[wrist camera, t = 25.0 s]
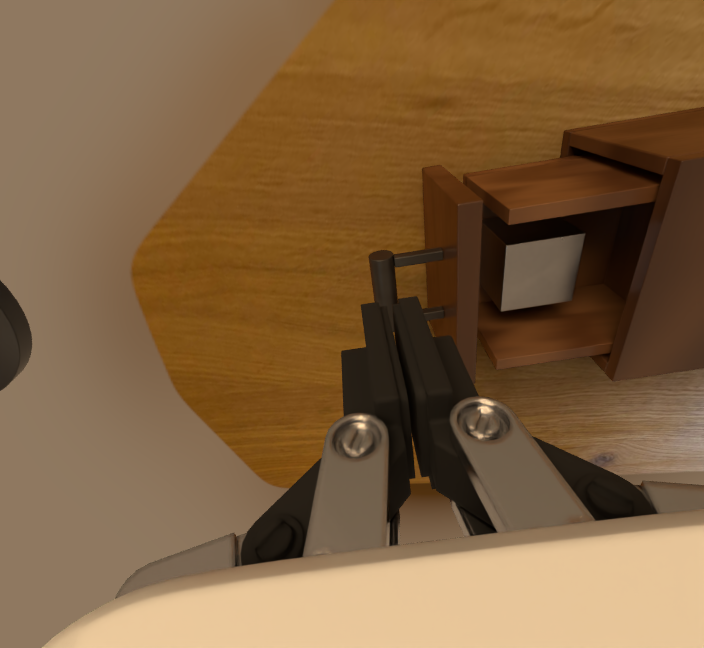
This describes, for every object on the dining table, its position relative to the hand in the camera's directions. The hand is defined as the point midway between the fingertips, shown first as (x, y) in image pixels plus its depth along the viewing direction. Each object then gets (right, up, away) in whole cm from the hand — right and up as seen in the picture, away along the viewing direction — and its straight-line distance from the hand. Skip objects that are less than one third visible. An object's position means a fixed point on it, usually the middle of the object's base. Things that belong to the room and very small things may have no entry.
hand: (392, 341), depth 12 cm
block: (+10, +6, +14) cm, 18 cm away
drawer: (+8, +6, +15) cm, 19 cm away
